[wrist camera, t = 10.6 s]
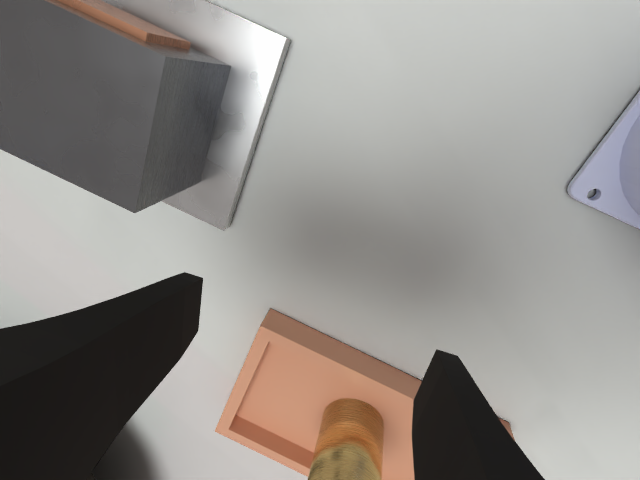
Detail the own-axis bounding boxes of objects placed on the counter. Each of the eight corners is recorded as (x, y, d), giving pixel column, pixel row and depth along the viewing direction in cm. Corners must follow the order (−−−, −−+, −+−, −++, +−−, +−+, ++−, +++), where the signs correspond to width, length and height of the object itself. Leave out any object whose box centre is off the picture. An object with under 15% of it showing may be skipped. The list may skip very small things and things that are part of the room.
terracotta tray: (508, 422, 22) (517, 449, 20) (425, 507, 26) (427, 534, 25) (270, 308, 22) (260, 325, 21) (226, 410, 27) (214, 431, 25)
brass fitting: (377, 396, 23) (370, 494, 17) (389, 444, 24) (386, 549, 18) (315, 399, 24) (291, 492, 18) (330, 445, 25) (311, 544, 19)
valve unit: (291, 40, 16) (238, 15, 11) (229, 225, 21) (169, 274, 15) (46, -74, 17) (-124, -152, 11) (35, 133, 21) (-92, 148, 15)
